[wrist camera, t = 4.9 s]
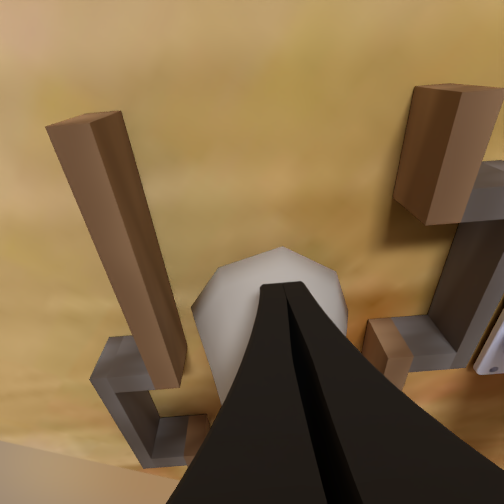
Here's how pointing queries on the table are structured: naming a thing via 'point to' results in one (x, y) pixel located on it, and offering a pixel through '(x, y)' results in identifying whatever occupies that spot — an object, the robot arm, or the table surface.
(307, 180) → the table surface
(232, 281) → the flask
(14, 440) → the table surface
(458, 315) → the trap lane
